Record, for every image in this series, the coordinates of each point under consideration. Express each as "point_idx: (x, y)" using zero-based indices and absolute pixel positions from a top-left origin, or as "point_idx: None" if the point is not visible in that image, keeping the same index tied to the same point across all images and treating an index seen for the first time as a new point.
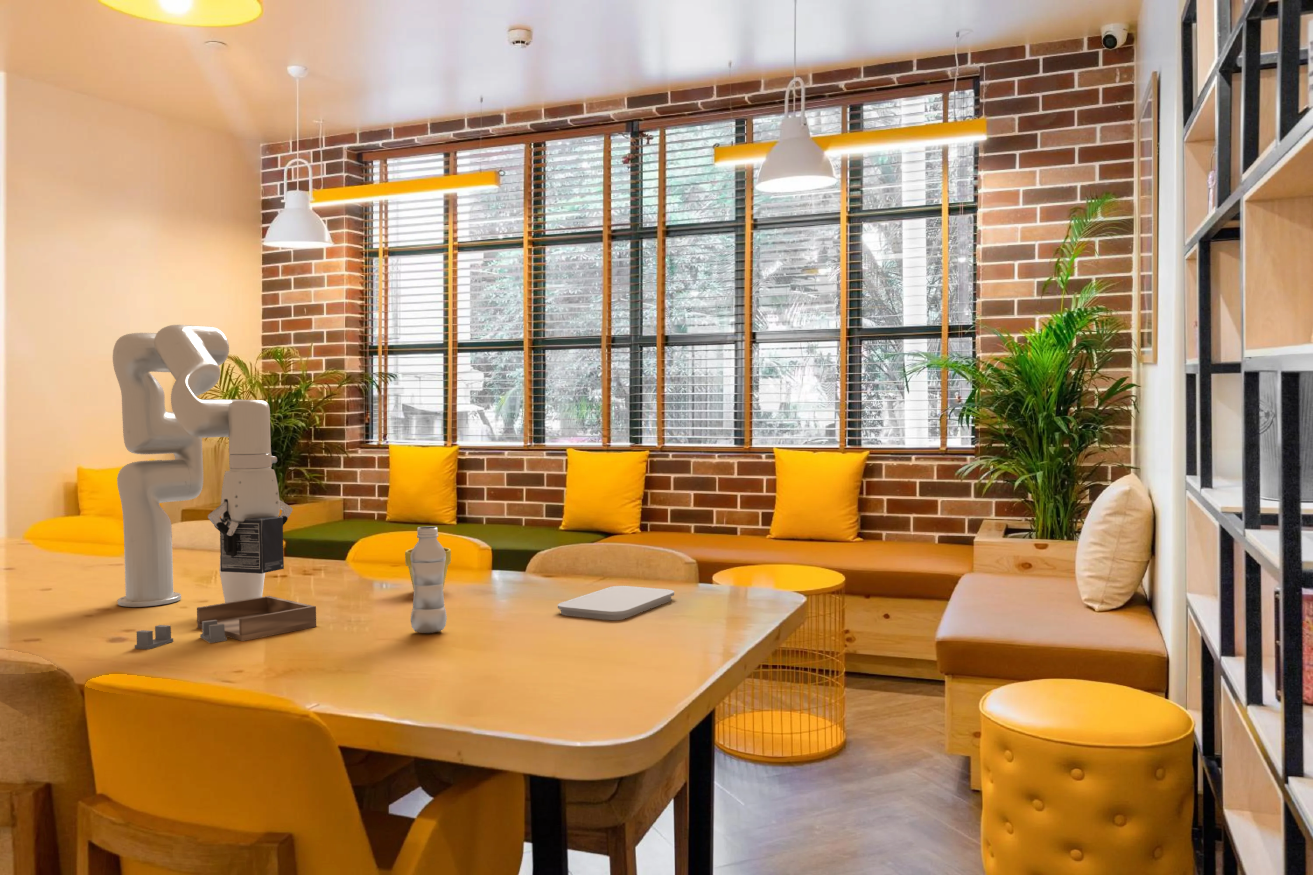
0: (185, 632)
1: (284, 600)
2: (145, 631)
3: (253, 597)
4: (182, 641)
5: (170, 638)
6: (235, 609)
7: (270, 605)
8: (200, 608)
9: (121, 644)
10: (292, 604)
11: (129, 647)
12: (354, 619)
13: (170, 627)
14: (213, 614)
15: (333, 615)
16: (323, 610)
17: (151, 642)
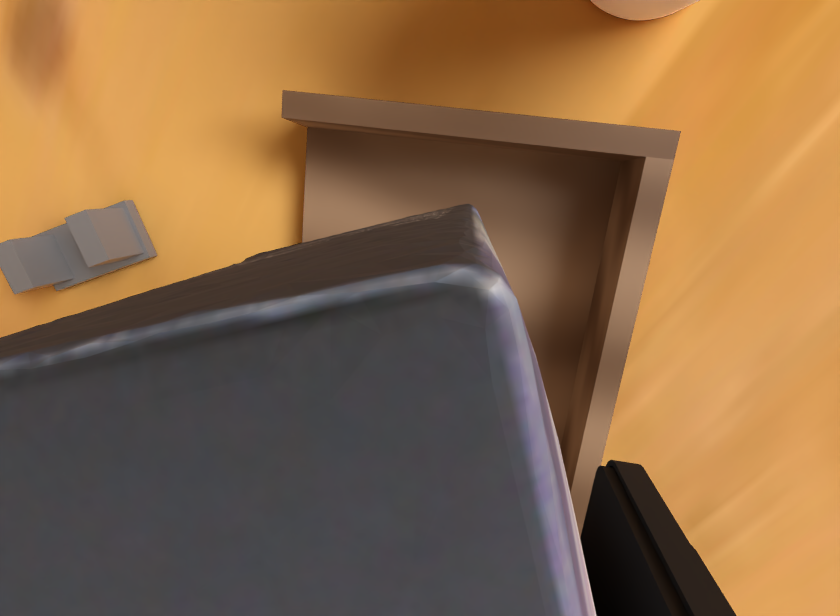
0: (248, 148)
1: (618, 319)
2: (13, 274)
3: (667, 4)
4: (179, 280)
5: (142, 253)
6: (465, 141)
7: (624, 192)
8: (288, 118)
9: (26, 132)
10: (588, 399)
11: (33, 204)
12: (725, 516)
13: (114, 258)
14: (361, 130)
15: (755, 395)
16: (830, 274)
17: (63, 281)
